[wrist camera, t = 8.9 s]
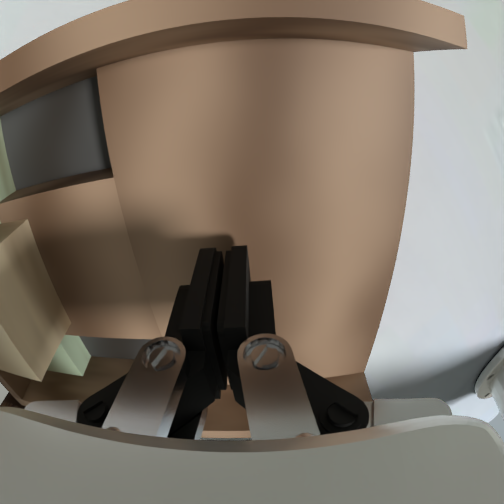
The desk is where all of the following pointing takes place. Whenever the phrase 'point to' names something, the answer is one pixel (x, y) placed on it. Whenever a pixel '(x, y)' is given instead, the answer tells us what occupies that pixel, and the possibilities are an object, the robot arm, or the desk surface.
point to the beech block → (27, 305)
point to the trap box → (215, 171)
